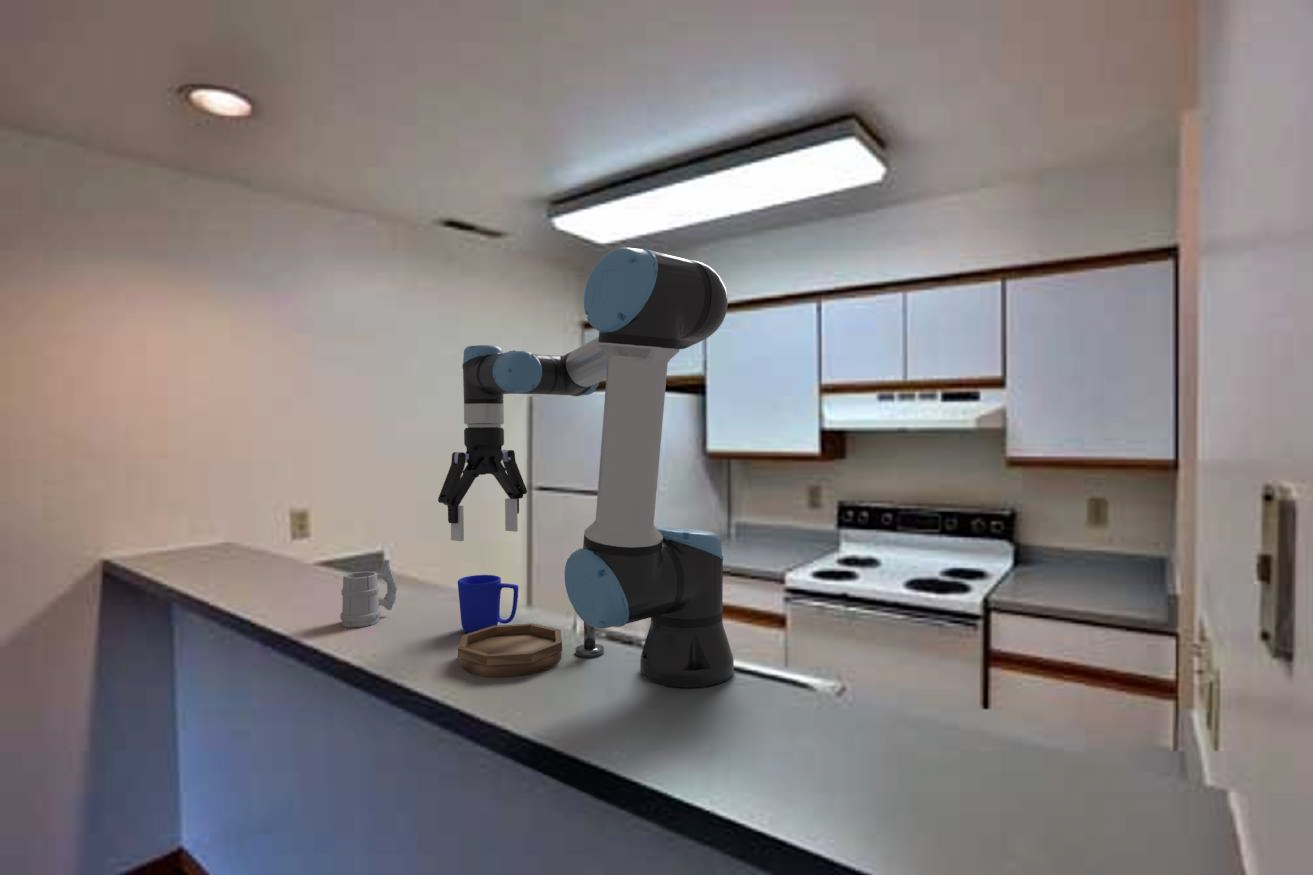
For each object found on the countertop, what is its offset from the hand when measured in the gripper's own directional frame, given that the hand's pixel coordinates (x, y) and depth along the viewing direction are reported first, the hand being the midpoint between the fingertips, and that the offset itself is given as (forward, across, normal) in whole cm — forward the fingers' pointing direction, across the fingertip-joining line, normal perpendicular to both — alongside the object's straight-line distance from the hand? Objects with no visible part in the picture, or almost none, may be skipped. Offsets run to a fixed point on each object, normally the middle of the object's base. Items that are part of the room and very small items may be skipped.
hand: (485, 535), depth 134 cm
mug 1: (+19, +8, -26) cm, 33 cm away
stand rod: (+19, -1, +25) cm, 31 cm away
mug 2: (+19, 0, 0) cm, 19 cm away
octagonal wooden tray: (+19, +9, +16) cm, 26 cm away
